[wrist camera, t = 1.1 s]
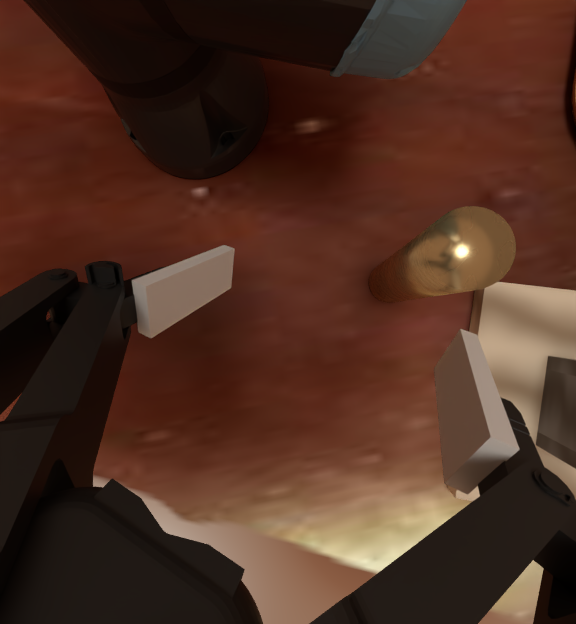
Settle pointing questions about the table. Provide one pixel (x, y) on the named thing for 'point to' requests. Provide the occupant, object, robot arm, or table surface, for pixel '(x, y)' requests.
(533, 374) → the socket board
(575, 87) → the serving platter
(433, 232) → the brass post
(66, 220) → the table surface
